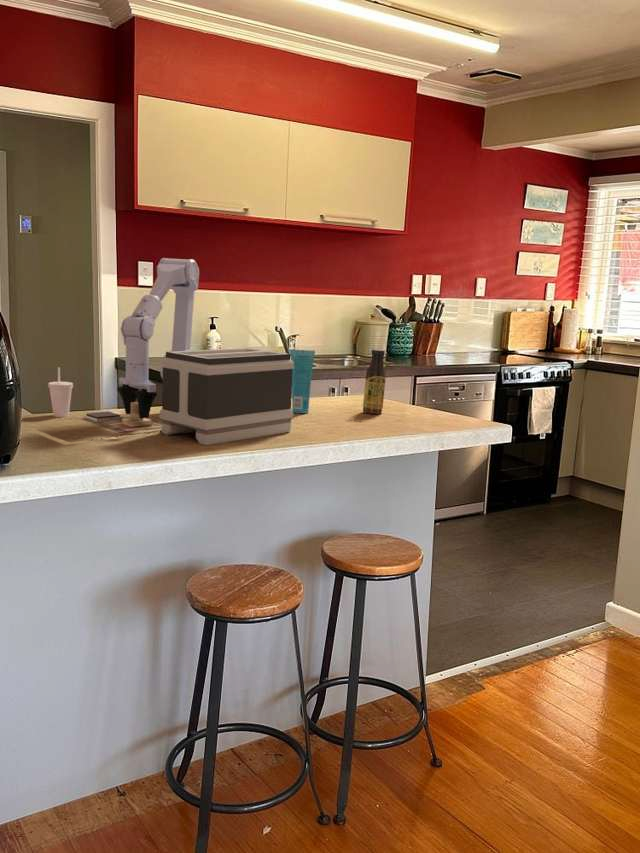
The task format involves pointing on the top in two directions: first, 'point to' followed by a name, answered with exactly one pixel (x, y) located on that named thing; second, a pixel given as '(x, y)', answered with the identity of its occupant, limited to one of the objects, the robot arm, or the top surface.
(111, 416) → the ink pad
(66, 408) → the smoothie
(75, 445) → the top surface
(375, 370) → the sauce bottle
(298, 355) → the tube
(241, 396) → the toaster
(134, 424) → the stamp
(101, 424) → the board
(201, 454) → the top surface
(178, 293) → the robot arm
